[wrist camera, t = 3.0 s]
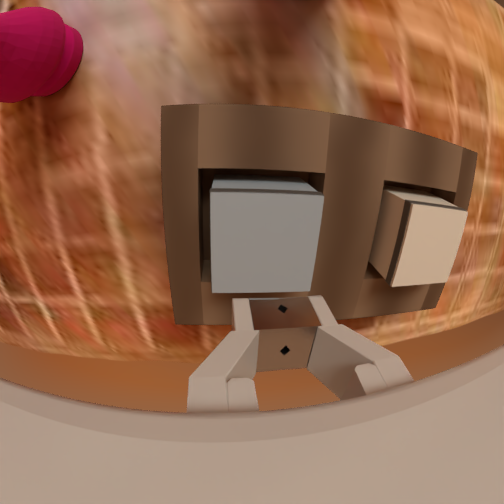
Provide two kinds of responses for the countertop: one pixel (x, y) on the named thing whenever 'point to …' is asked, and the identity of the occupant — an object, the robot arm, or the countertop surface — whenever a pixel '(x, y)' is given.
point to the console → (317, 176)
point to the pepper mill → (36, 53)
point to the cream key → (415, 237)
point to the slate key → (263, 233)
